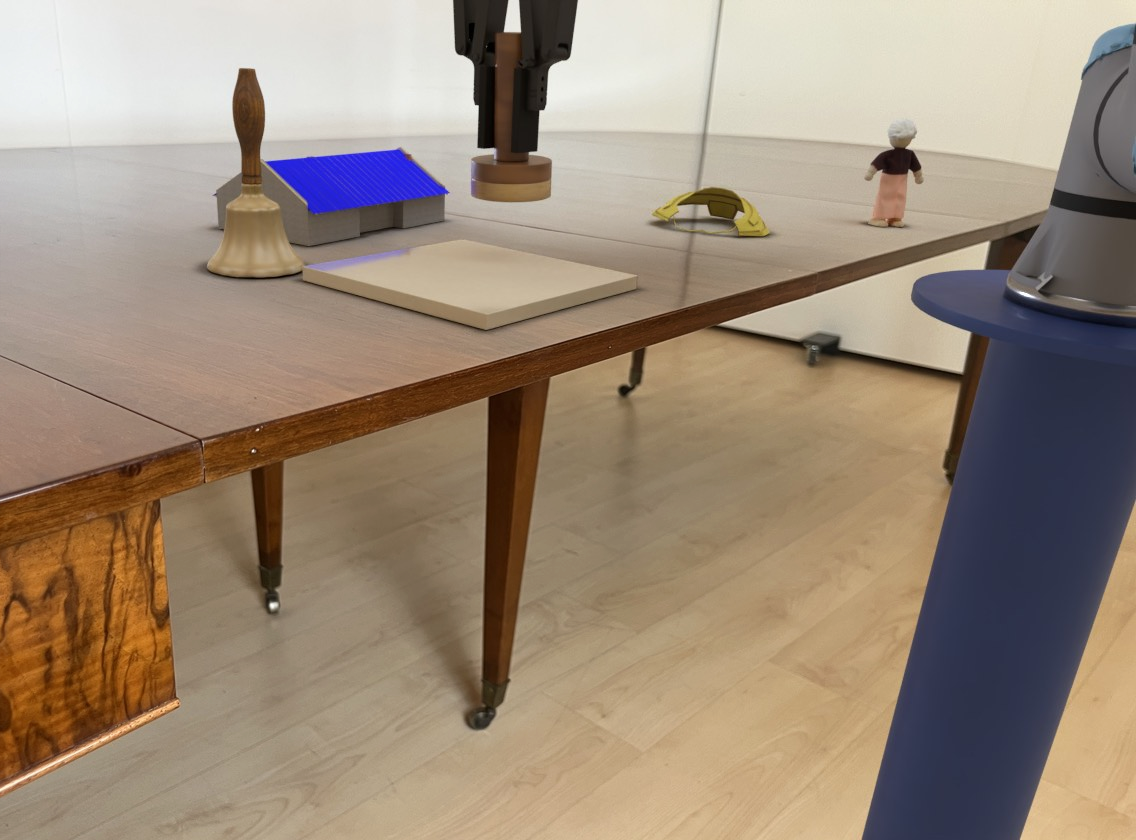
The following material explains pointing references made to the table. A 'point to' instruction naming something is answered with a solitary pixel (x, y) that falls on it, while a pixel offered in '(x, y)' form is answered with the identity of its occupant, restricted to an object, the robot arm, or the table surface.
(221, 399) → the table surface
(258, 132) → the hand bell
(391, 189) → the model house
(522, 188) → the dish brush
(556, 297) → the tile
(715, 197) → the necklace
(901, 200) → the grandmother figurine
